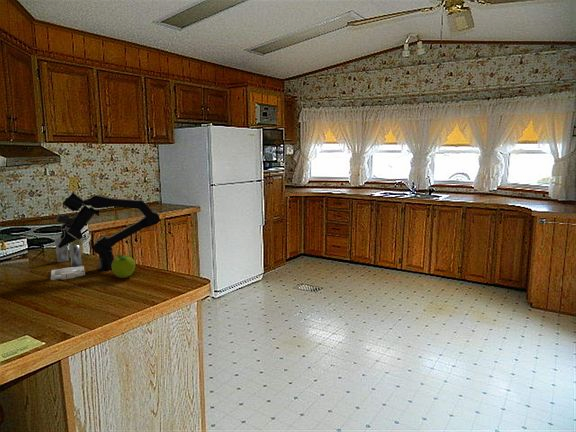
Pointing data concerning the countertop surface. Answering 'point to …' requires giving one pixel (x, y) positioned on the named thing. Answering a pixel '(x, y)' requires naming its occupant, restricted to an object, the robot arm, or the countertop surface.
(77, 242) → the sauce bottle
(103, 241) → the robot arm
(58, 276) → the scale
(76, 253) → the cylinder
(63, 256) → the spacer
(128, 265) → the fruit
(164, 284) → the countertop surface
